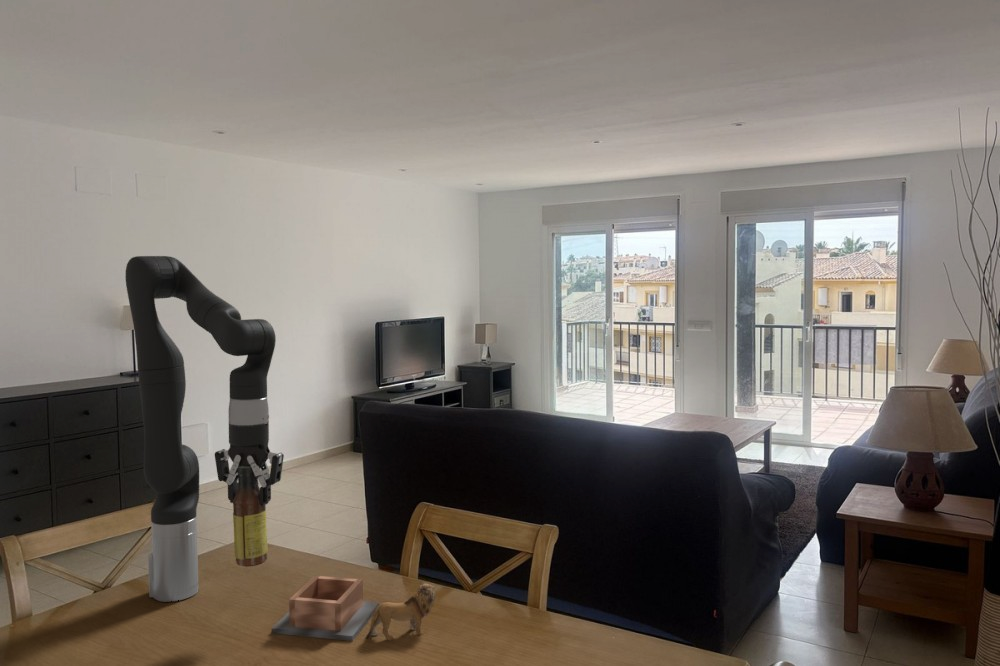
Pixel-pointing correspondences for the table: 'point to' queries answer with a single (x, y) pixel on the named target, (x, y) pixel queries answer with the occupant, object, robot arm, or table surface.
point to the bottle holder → (327, 609)
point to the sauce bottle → (249, 520)
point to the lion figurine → (404, 611)
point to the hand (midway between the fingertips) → (249, 502)
